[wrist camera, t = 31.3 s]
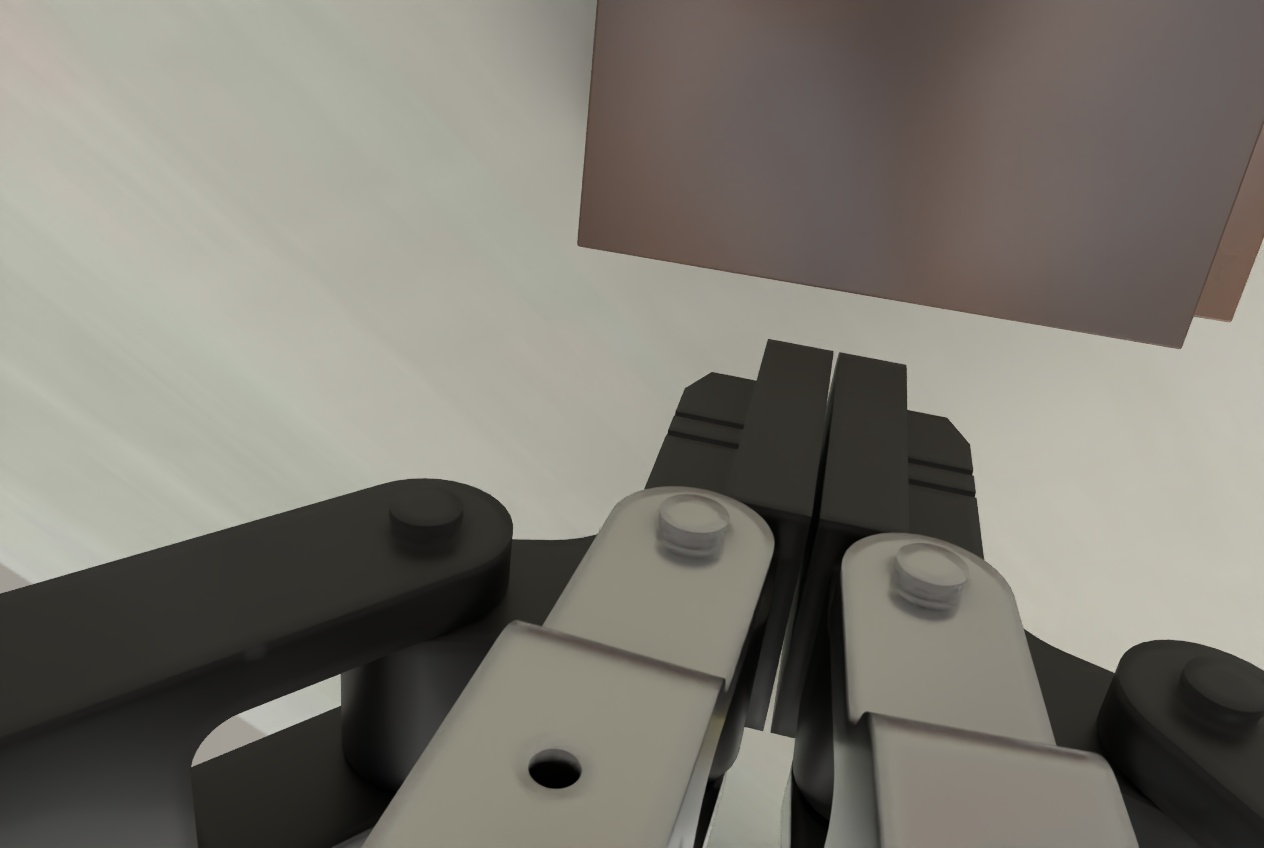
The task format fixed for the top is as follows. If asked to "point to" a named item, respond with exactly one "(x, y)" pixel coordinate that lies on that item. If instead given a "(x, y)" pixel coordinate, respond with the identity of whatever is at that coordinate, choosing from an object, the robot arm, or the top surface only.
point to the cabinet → (932, 148)
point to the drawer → (1237, 245)
